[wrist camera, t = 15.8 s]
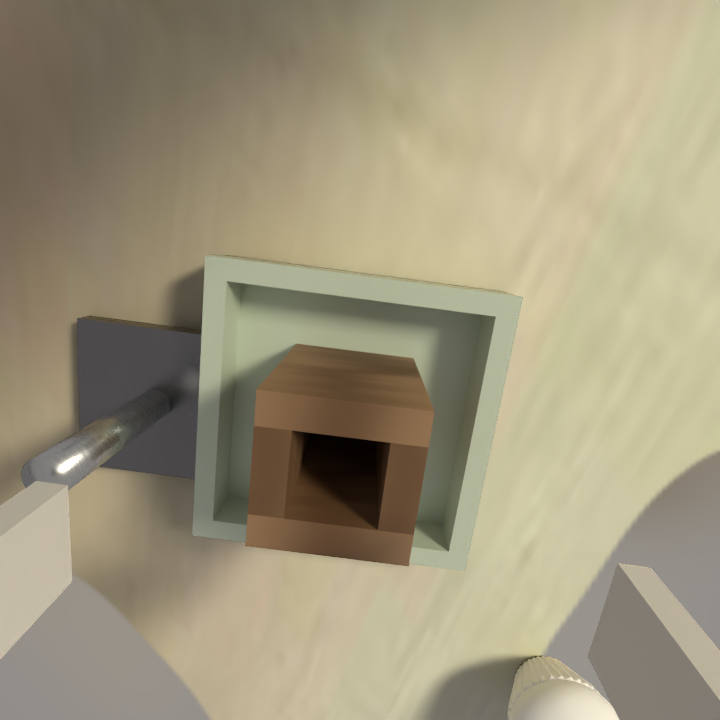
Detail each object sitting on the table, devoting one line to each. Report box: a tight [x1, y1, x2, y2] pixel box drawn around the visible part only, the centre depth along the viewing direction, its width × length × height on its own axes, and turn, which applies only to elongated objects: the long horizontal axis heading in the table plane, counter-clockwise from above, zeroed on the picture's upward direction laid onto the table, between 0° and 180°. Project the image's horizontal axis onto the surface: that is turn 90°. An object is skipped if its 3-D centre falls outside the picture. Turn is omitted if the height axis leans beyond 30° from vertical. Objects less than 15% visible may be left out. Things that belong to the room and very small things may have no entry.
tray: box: [192, 255, 523, 571], centre depth 22 cm, size 14×14×3 cm
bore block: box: [245, 344, 435, 566], centre depth 19 cm, size 6×6×8 cm
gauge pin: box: [22, 316, 202, 490], centre depth 20 cm, size 8×8×9 cm
